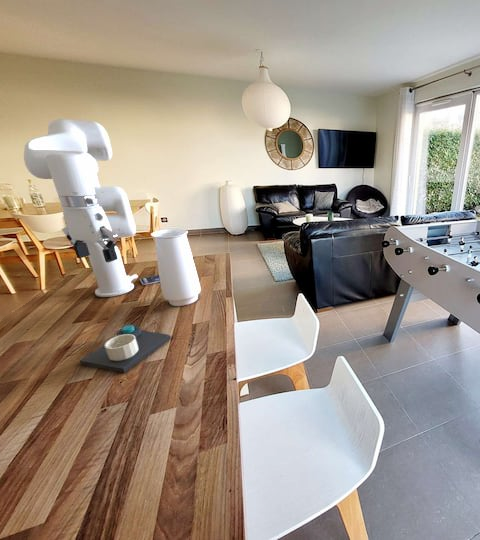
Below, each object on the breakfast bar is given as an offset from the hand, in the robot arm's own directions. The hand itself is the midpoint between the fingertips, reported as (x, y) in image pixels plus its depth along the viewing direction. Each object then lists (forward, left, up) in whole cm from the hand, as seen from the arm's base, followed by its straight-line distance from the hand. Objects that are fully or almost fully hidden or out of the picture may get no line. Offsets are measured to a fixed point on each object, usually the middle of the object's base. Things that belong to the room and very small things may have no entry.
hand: (97, 258), depth 86 cm
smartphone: (-38, -19, -25) cm, 49 cm away
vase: (-23, +5, -25) cm, 34 cm away
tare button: (+3, +8, -22) cm, 24 cm away
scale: (+8, +12, -25) cm, 29 cm away
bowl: (+11, +14, -24) cm, 30 cm away
